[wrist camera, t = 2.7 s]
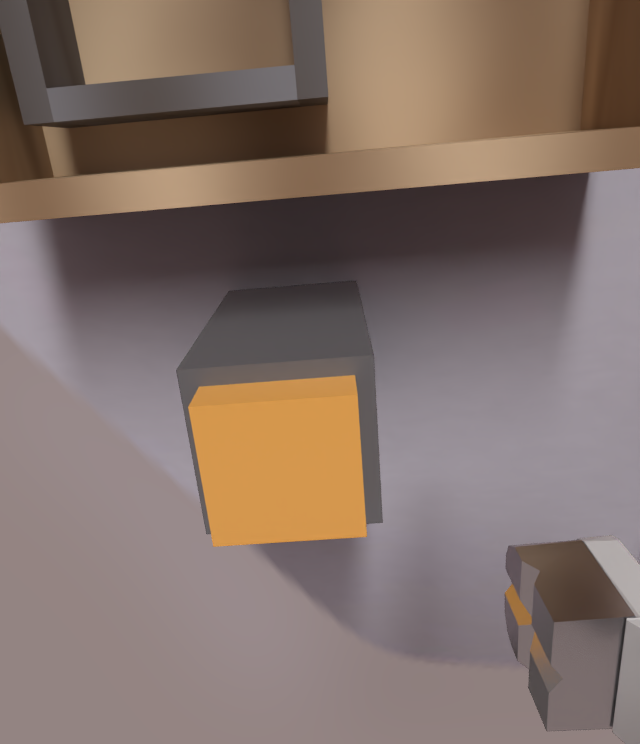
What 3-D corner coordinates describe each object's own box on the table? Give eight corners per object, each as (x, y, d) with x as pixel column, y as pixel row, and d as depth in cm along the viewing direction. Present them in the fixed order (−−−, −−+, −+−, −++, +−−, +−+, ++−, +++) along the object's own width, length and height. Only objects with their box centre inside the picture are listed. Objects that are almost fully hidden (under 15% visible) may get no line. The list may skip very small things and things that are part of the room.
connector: (356, 280, 18) (377, 373, 11) (363, 397, 20) (387, 551, 12) (229, 290, 18) (163, 389, 11) (245, 406, 20) (197, 563, 12)
